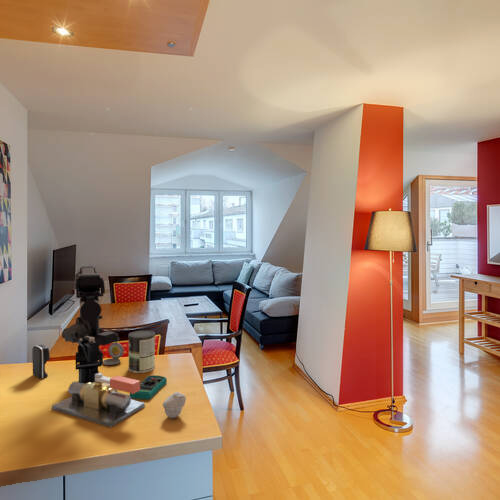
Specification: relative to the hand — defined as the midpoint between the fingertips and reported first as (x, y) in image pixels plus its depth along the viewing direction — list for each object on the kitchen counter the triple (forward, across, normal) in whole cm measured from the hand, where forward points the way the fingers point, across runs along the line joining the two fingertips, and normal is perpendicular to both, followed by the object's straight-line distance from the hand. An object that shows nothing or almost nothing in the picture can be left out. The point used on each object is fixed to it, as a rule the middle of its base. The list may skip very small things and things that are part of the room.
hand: (89, 361), depth 119 cm
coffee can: (+13, -5, +30) cm, 33 cm away
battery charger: (+13, -33, +7) cm, 36 cm away
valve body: (+13, +6, -2) cm, 14 cm away
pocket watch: (+13, -20, +30) cm, 38 cm away
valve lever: (+5, +13, -2) cm, 14 cm away
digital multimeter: (+14, +11, +15) cm, 23 cm away
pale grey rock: (+13, +30, +4) cm, 33 cm away
